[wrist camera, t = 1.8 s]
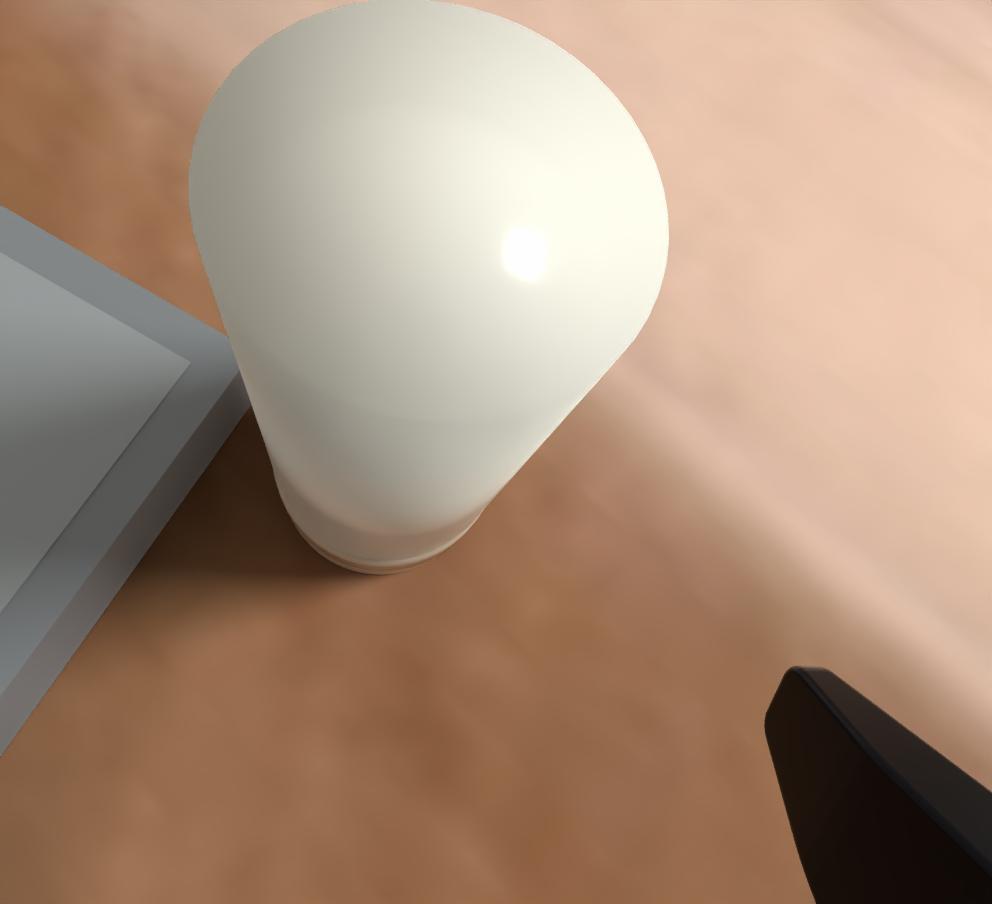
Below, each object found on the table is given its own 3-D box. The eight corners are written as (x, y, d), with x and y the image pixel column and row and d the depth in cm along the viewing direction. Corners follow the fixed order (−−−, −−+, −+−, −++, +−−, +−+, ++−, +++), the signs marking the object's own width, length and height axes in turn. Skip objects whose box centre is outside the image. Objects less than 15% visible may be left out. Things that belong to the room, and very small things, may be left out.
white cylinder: (418, 613, 20) (544, 525, 7) (240, 512, 20) (68, 248, 7) (512, 446, 21) (740, 151, 9) (348, 351, 21) (358, -80, 9)
